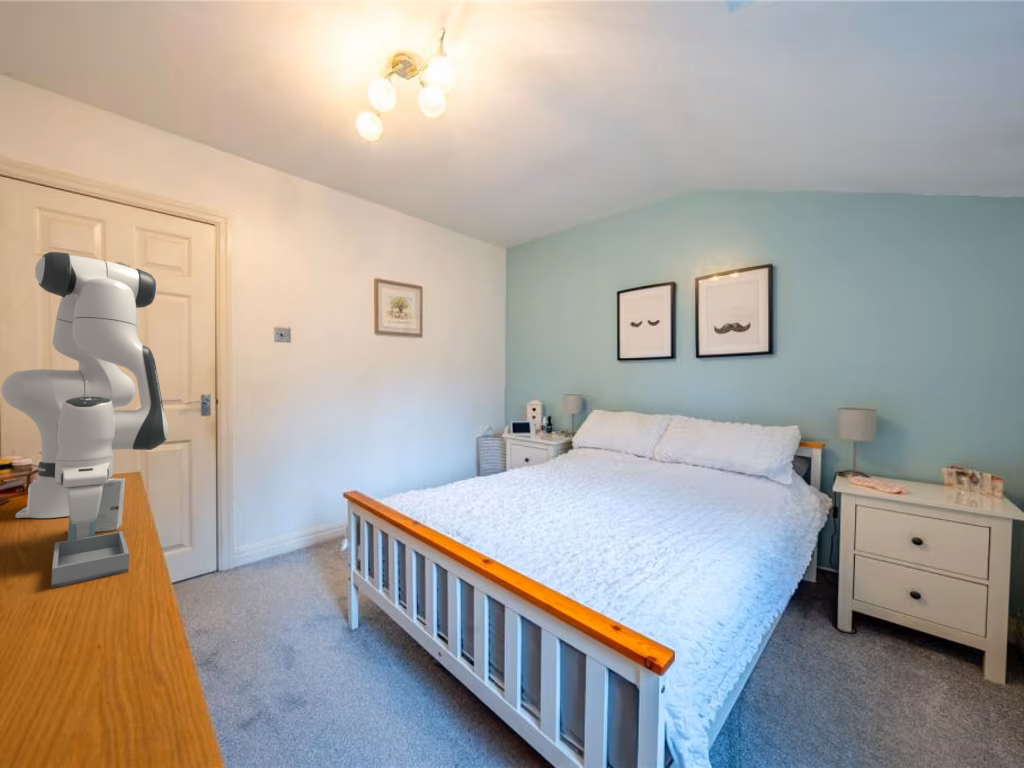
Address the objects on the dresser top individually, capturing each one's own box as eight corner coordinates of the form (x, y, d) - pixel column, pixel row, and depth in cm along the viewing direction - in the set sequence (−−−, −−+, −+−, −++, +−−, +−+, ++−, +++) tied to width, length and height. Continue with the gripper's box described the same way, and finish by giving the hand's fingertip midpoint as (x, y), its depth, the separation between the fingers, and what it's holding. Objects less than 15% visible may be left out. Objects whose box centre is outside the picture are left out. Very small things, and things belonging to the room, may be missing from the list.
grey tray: (54, 559, 83) (55, 542, 83) (121, 546, 90) (122, 531, 90) (51, 588, 72) (52, 568, 72) (128, 571, 79) (129, 553, 79)
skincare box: (83, 534, 96) (85, 483, 97) (89, 528, 100) (91, 479, 100) (118, 529, 100) (120, 480, 100) (123, 524, 104) (125, 477, 104)
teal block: (67, 547, 89) (69, 511, 89) (93, 542, 92) (95, 507, 92) (67, 553, 86) (69, 515, 86) (94, 548, 89) (96, 511, 89)
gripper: (64, 464, 94) (61, 524, 94) (63, 481, 80) (59, 551, 80) (103, 461, 98) (100, 518, 98) (107, 476, 85) (104, 542, 85)
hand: (82, 533), depth 89 cm, fingers closed on teal block, 4 cm apart
